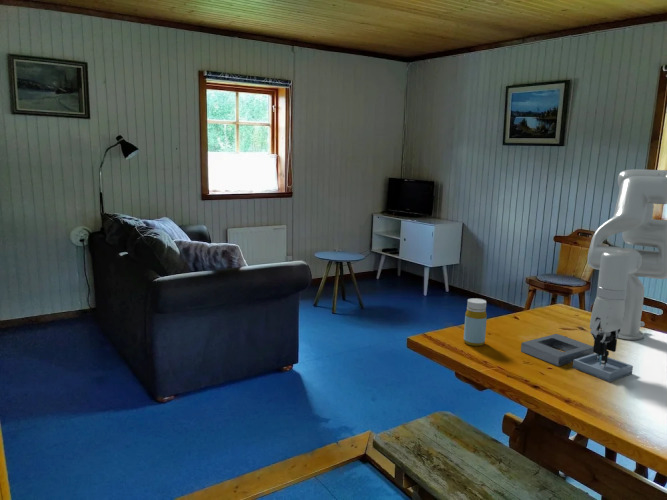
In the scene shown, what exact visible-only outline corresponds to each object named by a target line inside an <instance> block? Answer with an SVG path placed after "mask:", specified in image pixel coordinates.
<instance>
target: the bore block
mask: <svg viewBox="0 0 667 500" xmlns="http://www.w3.org/2000/svg"><path fill="white" fill-rule="evenodd" d="M593 348H594V345H591V344H588V343H584V342H582V341H579V340H576V339H574V338H571V337H567V336H564V335H562V334H558V333H554V334H551V335H547V336H542V337H539V338H538V337H537V338H534V339H531V340H527V341H526V340H525V341H522V342H521V347H520V352H522V353H524V354H526V355H529V356H531V357H533V358H537V359H539V360H542V361H544V362H546V363H549V364H552V365H554V366H556V367H560V366H564V365H567V364H570V363H573V360H574V359H578V358H581V357H584V356H588V355H591V354H594V352H593Z"/></svg>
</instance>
